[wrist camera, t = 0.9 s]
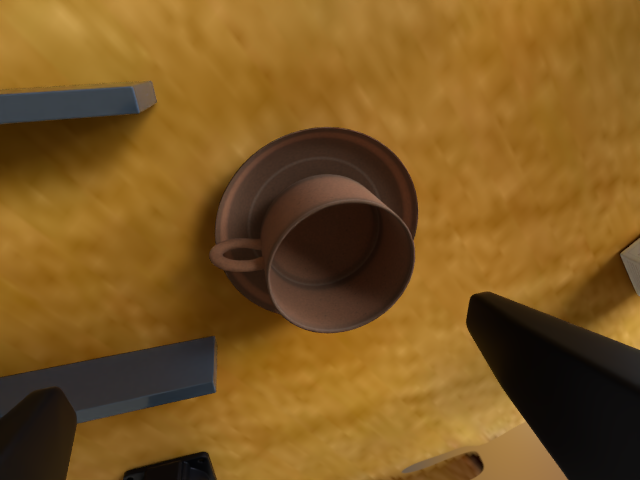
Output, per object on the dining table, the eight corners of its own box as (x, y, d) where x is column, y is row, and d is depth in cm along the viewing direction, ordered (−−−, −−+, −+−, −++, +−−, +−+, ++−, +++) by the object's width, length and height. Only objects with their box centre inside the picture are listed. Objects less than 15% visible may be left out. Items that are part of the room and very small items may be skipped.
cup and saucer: (256, 323, 24) (265, 396, 19) (179, 161, 18) (160, 202, 13) (414, 265, 25) (464, 319, 20) (389, 93, 19) (450, 106, 14)
